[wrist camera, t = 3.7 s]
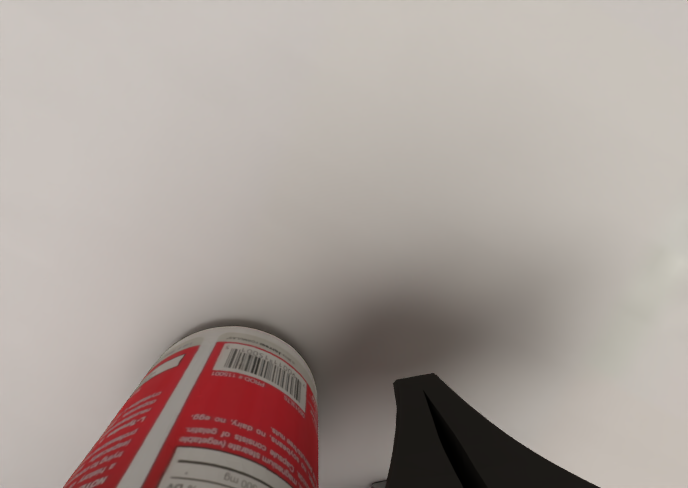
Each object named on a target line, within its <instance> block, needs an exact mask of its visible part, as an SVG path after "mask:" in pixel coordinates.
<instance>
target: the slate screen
mask: <svg viewBox="0 0 688 488" xmlns="http://www.w3.org/2000/svg"><path fill="white" fill-rule="evenodd" d="M386 482H387V481H384V482H379V483H373V488H385V486H386Z"/></svg>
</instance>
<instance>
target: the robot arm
mask: <svg viewBox="0 0 688 488" xmlns="http://www.w3.org/2000/svg"><path fill="white" fill-rule="evenodd" d="M393 385H394V392H395V399H396V405H397V414H396V431H395V438H394V446H393V453H392V458H391V464H390V469H389V473H388V478H387V482H386V486H385V488H600V487H598V486H596V485H594V484H592V483H590V482H588V481H586V480H584V479H582V478H580V477H578V476H576V475H574V474H572V473H570V472H568V471H567V470H565V469H563V468H561V467H559V466H557V465H555V464H554V463H552V462H550V461H548V460H547V459H545V458H543V457H542V456H540V455H538V454H537V453H535V452H533V451H532V450H530V449H529V448H527V447H525V446H524V445H522V444H521V443H519V442H518V441H516V440H515V439H513V438H512V437H510V436H509V435H507V434H506V433H505V432H503V431H502V430H501V429H499V428H498V427H497V426H495V425H494V424H492V423H491V422H490V421H489V420H487V419H486V418H485V417H483V416H482V415H481V414H480V413H479V412H477V411H476V410H475V409H474V408H472V407H471V406H470V405H469V404H468V403H466V402H465V401H464V400H463V399H462V398H461V397H460V396H458V395H457V394H456V393H455V392H454V391H453V390H452V389H451V388H450V387H448V386H447V385H446V384H445V383H444V382H443V381H442V380H441V379H440V378H439V377H438V376H437V375H435V374H434V373H431V374H426V375H420V376H414V377H409V378H403V379H398V380H396V381H395V382H394V383H393Z"/></svg>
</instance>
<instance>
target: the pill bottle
mask: <svg viewBox="0 0 688 488" xmlns="http://www.w3.org/2000/svg"><path fill="white" fill-rule="evenodd" d="M63 488H318V401H317V389H316V385H315V381H314V378H313V375H312V373H311V371H310V369H309V367H308V365H307V364H306V362H305V361H304V360H303V358H302V357H301V356H300V354H299V353H298V352H297V351H296V350H295V349H294V348H293V347H291V346H290V345H289V344H287V343H286V342H284V341H283V340H281V339H279V338H277V337H275V336H274V335H271V334H269V333H266V332H264V331H260V330H257V329H253V328H248V327H239V326H227V327H216V328H210V329H206V330H202V331H199V332H196V333H194V334H192V335H189V336H187V337H186V338H184V339H182V340H180V341H179V342H177V343H176V344H174V345H173V346H172V347H170V348H169V349H168V350H167V351H166V352H165V353H164V354H163V355H162V356H161V357H160V358H159V359H158V361H157V362H156V363H155V364H154V365H153V367H152V368H151V369H150V371H149V372H148V373H147V375H146V376H145V377H144V379H143V380H142V381H141V383H140V384H139V386H138V387H137V388H136V390H135V391H134V392H133V394H132V395H131V396H130V398H129V399H128V400H127V402H126V403H125V404H124V406H123V407H122V409H121V410H120V411H119V413H118V414H117V415H116V417H115V418H114V419H113V421H112V422H111V423H110V425H109V426H108V428H107V429H106V430H105V432H104V433H103V434H102V436H101V437H100V438H99V440H98V441H97V443H96V444H95V445H94V446H93V448H92V449H91V450H90V452H89V453H88V454H87V456H86V457H85V459H84V460H83V461H82V463H81V464H80V465H79V467H78V468H77V469H76V471H75V472H74V473H73V474H72V476H71V477H70V479H69V480H68V481H67V483H66V484H65V486H64V487H63Z"/></svg>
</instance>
